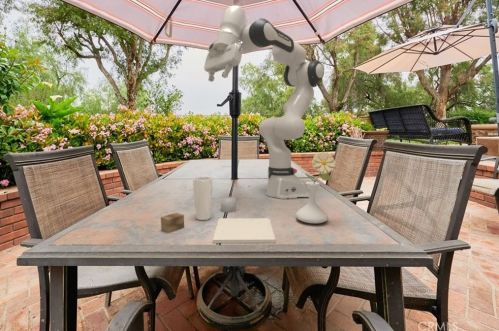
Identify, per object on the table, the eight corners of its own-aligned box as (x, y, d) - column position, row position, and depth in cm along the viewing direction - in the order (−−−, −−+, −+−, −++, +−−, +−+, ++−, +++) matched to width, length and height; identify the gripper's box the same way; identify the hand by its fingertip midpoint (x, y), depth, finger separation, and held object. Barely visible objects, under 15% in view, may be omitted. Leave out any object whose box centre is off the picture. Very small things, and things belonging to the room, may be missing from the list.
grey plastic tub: (235, 208, 106) (235, 196, 105) (235, 212, 100) (235, 200, 99) (221, 208, 106) (221, 196, 105) (220, 212, 100) (219, 200, 99)
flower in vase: (292, 223, 87) (294, 152, 84) (298, 214, 98) (300, 150, 95) (332, 229, 83) (335, 153, 80) (333, 218, 94) (336, 150, 90)
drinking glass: (190, 218, 93) (189, 178, 91) (205, 214, 98) (204, 176, 96) (201, 223, 88) (200, 180, 86) (216, 218, 93) (216, 178, 91)
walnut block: (177, 225, 86) (176, 212, 86) (184, 228, 84) (183, 214, 83) (161, 230, 82) (160, 217, 81) (168, 233, 79) (167, 219, 79)
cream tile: (269, 221, 90) (269, 218, 90) (275, 242, 72) (275, 239, 72) (219, 221, 90) (219, 218, 90) (212, 243, 72) (212, 239, 72)
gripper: (249, 43, 93) (240, 78, 92) (218, 56, 109) (209, 86, 108) (236, 33, 89) (226, 70, 88) (206, 48, 105) (197, 79, 103)
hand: (217, 79), depth 98 cm, fingers open, 8 cm apart
